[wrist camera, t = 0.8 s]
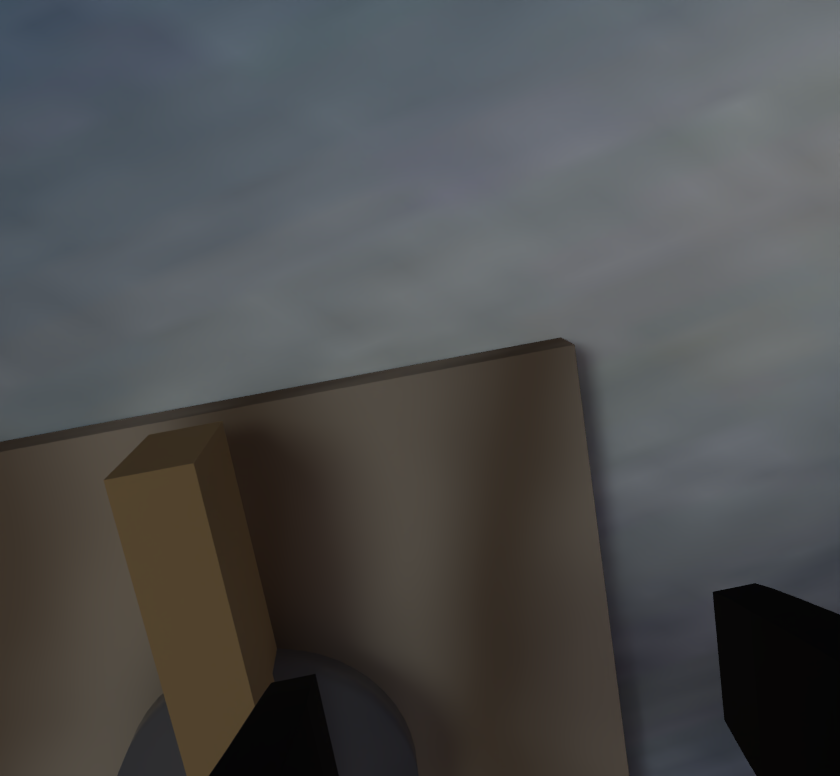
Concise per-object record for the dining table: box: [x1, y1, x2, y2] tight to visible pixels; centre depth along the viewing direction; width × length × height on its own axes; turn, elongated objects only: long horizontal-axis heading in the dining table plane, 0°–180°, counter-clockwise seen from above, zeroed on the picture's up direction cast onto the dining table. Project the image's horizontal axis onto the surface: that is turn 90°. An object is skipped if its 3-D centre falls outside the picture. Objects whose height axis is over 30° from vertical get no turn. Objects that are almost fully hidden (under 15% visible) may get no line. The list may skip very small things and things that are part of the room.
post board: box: [0, 338, 629, 776], centre depth 19 cm, size 18×18×2 cm
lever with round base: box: [103, 421, 419, 776], centre depth 16 cm, size 12×7×3 cm, turn 10°
